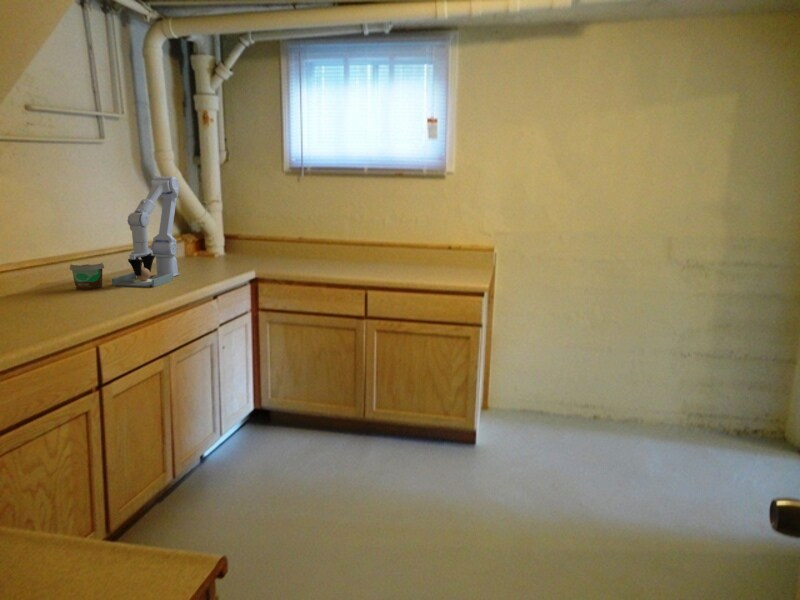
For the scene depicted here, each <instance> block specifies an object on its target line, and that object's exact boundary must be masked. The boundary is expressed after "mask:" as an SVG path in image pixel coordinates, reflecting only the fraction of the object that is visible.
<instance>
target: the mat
mask: <svg viewBox="0 0 800 600" xmlns="http://www.w3.org/2000/svg"><path fill="white" fill-rule="evenodd" d="M156 278H158V277H152V276H150V278H149V279H148V280H146V281H141V280H139V279H138V278H137V277H136V278H134V279H131V280H128V281H125V282H122V283H119V284H116V286H115V287H119V288H120V287H123V288H146V289H147V288H148V289H149V288H152V280H153V279H156Z"/></svg>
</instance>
